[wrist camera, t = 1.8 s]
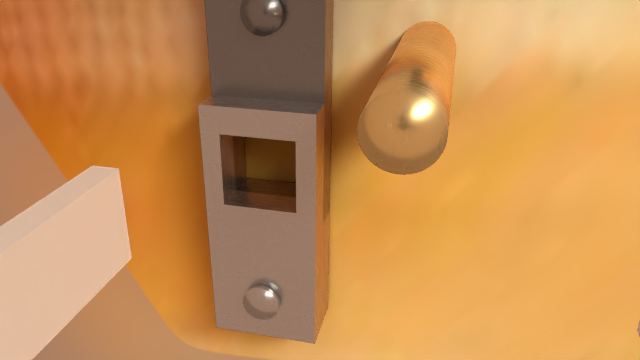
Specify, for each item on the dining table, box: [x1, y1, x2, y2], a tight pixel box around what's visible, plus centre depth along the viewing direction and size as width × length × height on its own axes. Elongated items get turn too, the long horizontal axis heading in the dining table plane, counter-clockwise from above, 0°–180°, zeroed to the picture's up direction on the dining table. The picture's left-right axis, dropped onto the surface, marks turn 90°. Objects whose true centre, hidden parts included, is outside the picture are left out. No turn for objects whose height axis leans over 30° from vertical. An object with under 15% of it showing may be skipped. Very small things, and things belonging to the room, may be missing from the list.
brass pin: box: [357, 22, 456, 175], centre depth 27 cm, size 3×3×14 cm
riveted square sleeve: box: [198, 0, 333, 344], centre depth 36 cm, size 24×7×5 cm, turn 0°
